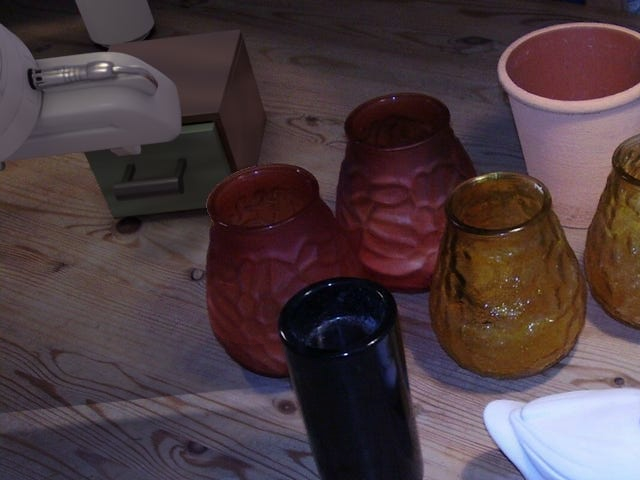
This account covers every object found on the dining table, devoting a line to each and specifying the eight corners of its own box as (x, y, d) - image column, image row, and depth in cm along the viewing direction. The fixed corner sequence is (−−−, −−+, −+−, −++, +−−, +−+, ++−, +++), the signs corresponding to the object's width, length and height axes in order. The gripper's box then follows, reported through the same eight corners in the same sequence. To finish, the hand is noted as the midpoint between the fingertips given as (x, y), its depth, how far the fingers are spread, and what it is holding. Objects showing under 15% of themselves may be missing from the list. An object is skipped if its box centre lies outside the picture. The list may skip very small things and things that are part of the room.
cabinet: (248, 203, 91) (218, 111, 84) (113, 218, 91) (72, 128, 85) (266, 117, 101) (240, 28, 94) (144, 131, 102) (110, 44, 95)
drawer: (231, 234, 86) (204, 158, 81) (102, 248, 87) (67, 174, 81) (255, 122, 99) (233, 50, 93) (143, 135, 99) (114, 64, 94)
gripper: (131, 6, 55) (207, 89, 69) (-234, 52, 55) (-85, 125, 69) (142, 119, 54) (216, 179, 68) (-226, 164, 55) (-78, 214, 69)
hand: (62, 152), depth 69 cm, fingers open, 8 cm apart
